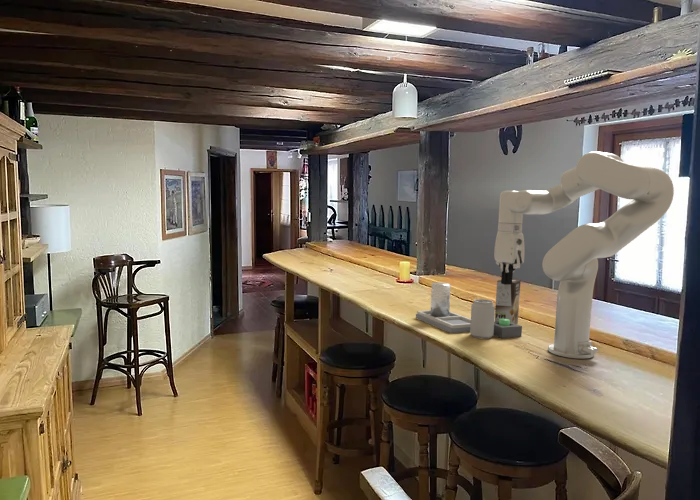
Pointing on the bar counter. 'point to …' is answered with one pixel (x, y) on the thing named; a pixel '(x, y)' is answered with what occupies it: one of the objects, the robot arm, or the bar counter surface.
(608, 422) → the bar counter surface
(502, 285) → the coffee box
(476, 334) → the can
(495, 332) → the console
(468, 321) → the grey compartment tray
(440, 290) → the block
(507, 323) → the button
